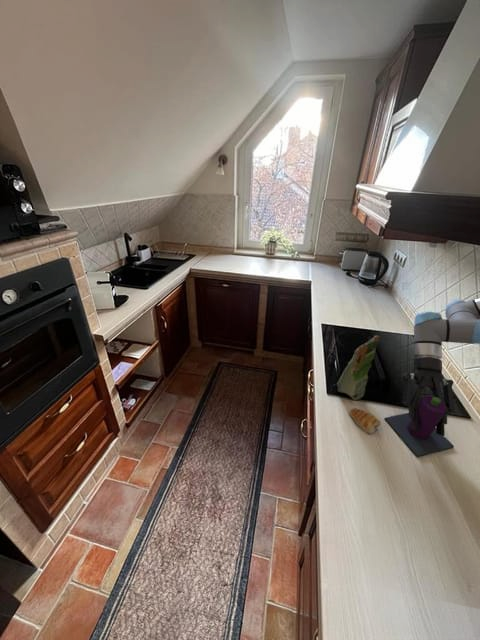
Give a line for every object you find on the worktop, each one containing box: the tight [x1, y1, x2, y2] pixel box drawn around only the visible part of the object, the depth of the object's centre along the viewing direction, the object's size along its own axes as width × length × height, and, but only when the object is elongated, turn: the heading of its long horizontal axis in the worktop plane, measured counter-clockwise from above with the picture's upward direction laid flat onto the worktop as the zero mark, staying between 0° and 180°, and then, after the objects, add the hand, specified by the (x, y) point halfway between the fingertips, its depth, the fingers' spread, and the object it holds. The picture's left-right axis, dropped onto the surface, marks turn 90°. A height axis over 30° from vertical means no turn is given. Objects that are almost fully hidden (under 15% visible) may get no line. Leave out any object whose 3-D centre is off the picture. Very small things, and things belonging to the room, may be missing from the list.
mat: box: [384, 412, 455, 458], centre depth 84 cm, size 14×14×1 cm
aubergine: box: [407, 395, 447, 440], centre depth 80 cm, size 6×6×15 cm
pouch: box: [336, 334, 381, 401], centre depth 93 cm, size 11×12×25 cm
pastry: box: [350, 407, 381, 435], centre depth 86 cm, size 9×7×4 cm
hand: (427, 432), depth 78 cm, fingers open, 6 cm apart
